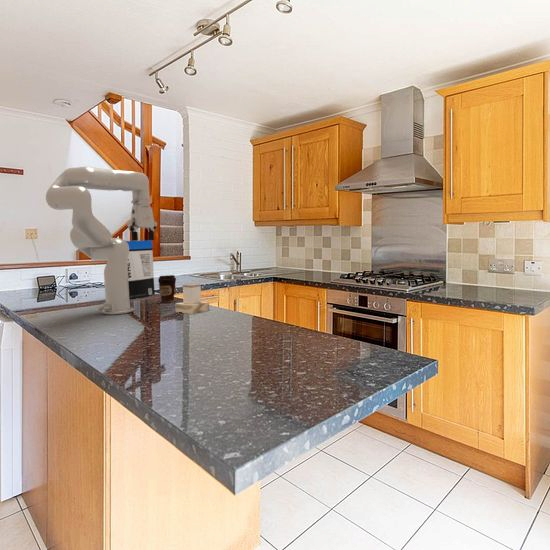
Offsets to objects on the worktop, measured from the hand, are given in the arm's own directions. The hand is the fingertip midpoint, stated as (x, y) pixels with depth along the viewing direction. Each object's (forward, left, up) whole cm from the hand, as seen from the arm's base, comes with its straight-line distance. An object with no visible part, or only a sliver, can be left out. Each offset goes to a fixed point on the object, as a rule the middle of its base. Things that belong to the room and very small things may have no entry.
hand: (143, 240), depth 194 cm
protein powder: (+14, +23, -31) cm, 41 cm away
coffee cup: (+9, -5, -31) cm, 32 cm away
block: (-5, -33, -31) cm, 46 cm away
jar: (-5, -33, -27) cm, 43 cm away
